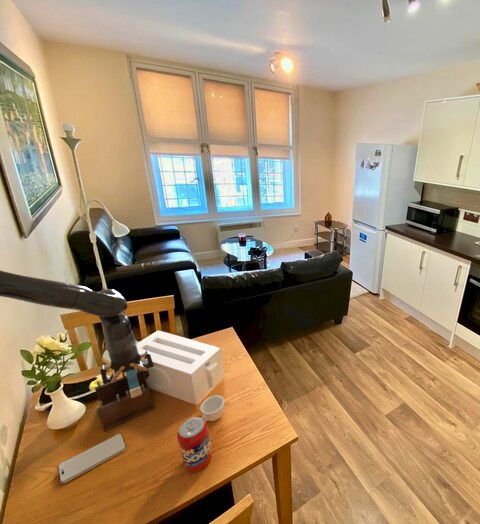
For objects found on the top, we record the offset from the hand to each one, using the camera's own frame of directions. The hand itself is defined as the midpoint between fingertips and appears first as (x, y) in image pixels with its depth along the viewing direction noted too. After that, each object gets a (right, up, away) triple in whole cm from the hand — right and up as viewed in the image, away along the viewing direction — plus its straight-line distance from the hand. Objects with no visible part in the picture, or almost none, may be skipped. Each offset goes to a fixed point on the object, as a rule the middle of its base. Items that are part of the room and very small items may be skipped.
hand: (131, 382), depth 102 cm
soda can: (+31, -19, -13) cm, 39 cm away
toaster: (+9, -6, +15) cm, 18 cm away
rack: (-3, -10, +2) cm, 10 cm away
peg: (0, -1, +1) cm, 1 cm away
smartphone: (0, -17, -15) cm, 22 cm away
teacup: (+28, -13, +1) cm, 31 cm away
